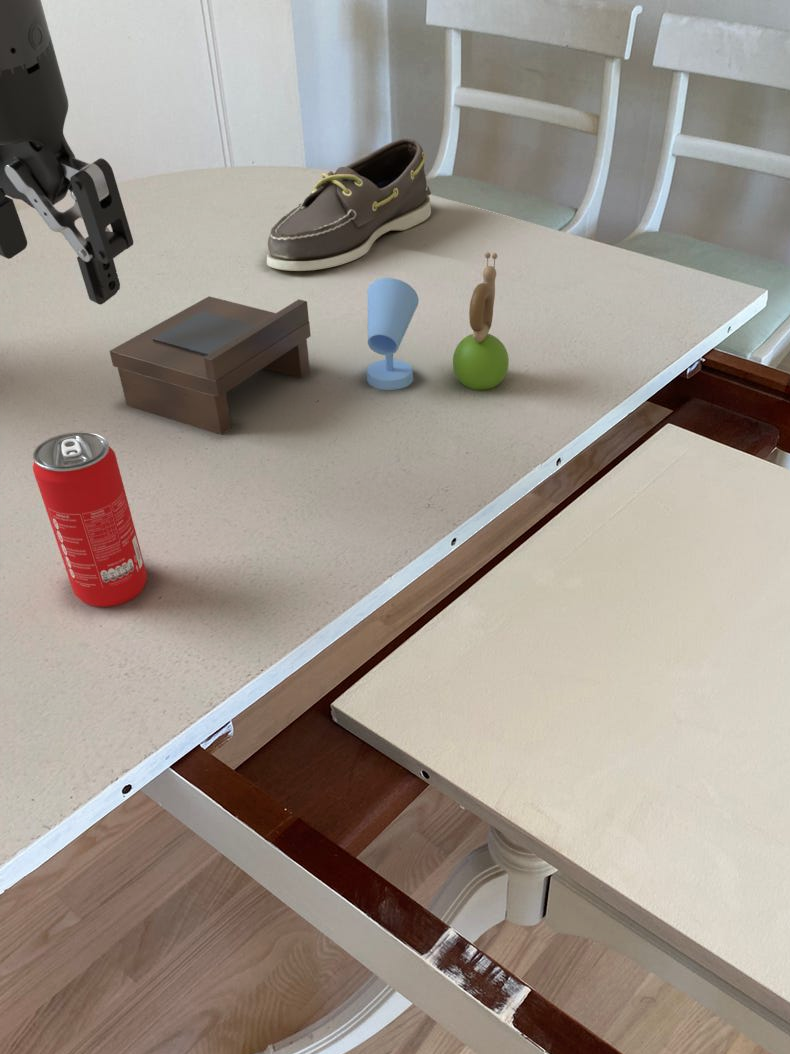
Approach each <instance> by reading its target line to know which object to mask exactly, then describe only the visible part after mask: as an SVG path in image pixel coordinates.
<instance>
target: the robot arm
mask: <svg viewBox="0 0 790 1054" xmlns="http://www.w3.org/2000/svg"><path fill="white" fill-rule="evenodd" d="M68 112H69V100H68V95H67V91H66V88H65V84H64V80H63V77H62V73H61V70H60V66H59V62H58V59H57V54H56V51H55V47H54V44H53V40H52V37H51V32H50V29H49V25H48V21H47V18H46V15H45V10H44V7H43V3H42V0H0V256H1V257H3V258H5V259H8V260H11V259H12V258H14V257H15V256H17V255H18V254H20V253H22V252H23V251H25V249H26V248H27V247H28V239H27V236H26V234H25V233H26V232H25V230H24V228H23V225H22V222H21V219H20V216H19V214H18V211H17V207H16V205H15V203H14V199H15V200H21V201H22V202H24V203H25V204H27V205H28V206H30V207H31V208H33V209H35V210H36V212H37V213H38V214H39V216H40V217H41V218H42V220H43V221H44V223H45V224H46V225H47V226H48V228H49V229H50V230H51V231H52V232H55V233H60V234H61V235H63V237H64V238H65V240H66V241H67V242H68V244H69V245H70V246H71V248H72V249H73V250H74V252H75V253H76V255H77V257H76V261H77V263H78V266H79V271H80V272H81V276H82V280H83V282H84V286H85V290H86V292H87V297H88V299H89V300H90V301H92V302H93V303H95V304H97V305H103V304H105V303H106V302H107V301H109V300H110V299H111V298H113V297H114V296H115V295H116V294H117V293H118V291H120V289H121V282H120V278H119V275H118V272H117V268H116V265H115V264H116V263H115V261H114V259H115V258H116V257H118V256H120V255H121V254H122V253H123V252H124V251H125V250H128V249H130V248H131V247H132V246H133V245H134V239H133V235H132V232H131V229H130V224H129V221H128V218H127V215H126V212H125V208H124V205H123V201H122V198H121V194H120V191H119V187H118V184H117V180H116V177H115V174H114V170H113V168H112V166H111V164H110V163H109V162H108V161H107V160H106V159H104V158H102V157H101V158H98V159H97V160H95V161H93V162H91V163H88V162H85V161H83V160H81V159H79V158H76V156H75V154H74V152H73V150H72V149H71V147H70V145H69V143H68V141H67V139H66V137H65V134H64V129H65V128H64V127H65V122H66V118H67V115H68ZM68 192H69V193H70V198H72V199H73V200H74V204H73V205H72V206H71V207H69V208H68V209H66V210H65V211H63V212H62V211H60V210H58V209H57V208H56V207H55V205H56V204H57V203H59V202H61V201H62V200H64V199H65V198H66V196H67V194H68ZM78 219H82V221H83V223H84V227H85V229H86V233H87V237H84V235H83V233H81V231H80V230H79V229H78V227H77V226H76V221H77V220H78ZM109 225H110V227H111V230H112V231H111V230H110V229H109V228H108V227H109Z"/></svg>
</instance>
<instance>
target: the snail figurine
mask: <svg viewBox="0 0 790 1054" xmlns="http://www.w3.org/2000/svg"><path fill="white" fill-rule="evenodd" d="M484 257H485V259H486V267H485V268H484V269H483V271H482V278H483V282H481V283H479V284H477V285H476V286H475V288H474V290H473V292H472V295H471V298H470V301H469V309H468V311H469V312H468V315H469V316H468V317H469V318H468V319H469V326H470V328H471V330H472V331H473V333H471V334H469V335H466V336H465V337H463V339H461V340H460V342H459V343H458V344H457V345H456V347H455V349H454V352H453V354H452V355H453V356H452V368H453V371H454V374H455V376H456V378H457V380H458V381H459V382H460V383H461V384H462V385H463V386H465V387H466V388H468V389H471V390H475V391H485V390H486V391H487V390H491V389H494V388H495V387H497V386H498V385H499V384H500V383H502V381H503V380H504V379H505V377H506V375H507V373H508V370H509V362H510V360H509V354H508V351H507V348H506V346H505V345H504V344H503V342H502V341H501V340H500V339H499V338H498V337H497V336H495V335H493V334H492V333H491V334H490V333H489V332H490V329H491V328H492V323H493V318H494V306H495V305H494V304H495V299H496V298H495V297H496V278H497V270H496V267H495V266H496V259H497V258H498V254H497V253H496V252H493V253H490V252H489V251H486V252H485V253H484ZM490 258H492V260H493V265H489V259H490Z"/></svg>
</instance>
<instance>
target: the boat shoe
mask: <svg viewBox="0 0 790 1054" xmlns="http://www.w3.org/2000/svg"><path fill="white" fill-rule="evenodd" d="M425 162H426V156H425V153H424V150H423V147H422V146H421V144H420V143H419V142H418V141H416V139H414V138H411V137H403V138H399V139H396V140H394V141H392V142H389V143H387V144H385V145H383V146H381V147H380V148H377V149H376V150H374V151H372V152H370V153H368V154H366V155H364V156H362V157H360V158H359V159H357V160H355V161H354V162H351V163H350V164H348V165H346V166H340V167H338V168H337V169H336V171H335V172H333V171H331V170H330V171H329V172H327V173H325V172H321V176H322V179H321V180H319V181H317V183H316V184H314V187H313V189H312V191H311V192H310V194H308V196H306V197H305V198H304V200H303V202H302V203H299V204H298V206H297V207H295V208H293V209H292V210H291V211H289V212H288V213H286V214H285V215H284V216H282V217H281V218H280V219H279V220H278V221H277V222H276V223H275V224H274V225H273V227H271V229H270V233H269V236H268V239H267V248H268V251H269V252H268V253H267V255H266V265H267V266H268V267H270V268H272V269H276V270H280V271H290V272H291V271H292V272H293V271H294V272H302V271H303V272H304V271H305V272H306V271H316V270H324V269H329V268H333V267H337V266H341V265H345V264H347V263H348V264H349V263H350V262H352V261H355V260H357V259H359V258H361V257H363V256H365V255H366V254H367V253H368V252H370V249H371V247H372V245H373V244H374V243H375V241H376V240H378V238H380V237H382V235H384V234H386V233H388V232H390V231H401V232H402V231H406V230H408V229H412V228H413V227H415V226H417V225H419V224H421V223H423V222H425V221H426V220H428V219H429V217H430V216H431V214H432V207H431V198H430V195H431V193H432V191H431V190H430V187H429V186H428V185H427V177H426V173H425Z"/></svg>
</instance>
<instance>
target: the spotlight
mask: <svg viewBox="0 0 790 1054" xmlns="http://www.w3.org/2000/svg"><path fill="white" fill-rule="evenodd" d="M366 292H367V295H366V296H367V297H366V298H367V299H366V300H367V345H368V347H369V349H370V350H371V351H373V353H376V354H378V355H382V356H384V359H383V360H382V359H381V360H377V361H374V362H373V363H371V364H369V365H368V367H366V380H367V383H368V384H369V385H370V386H371V387H372V388H375V389H379V390H382V391H383V390H384V391H395V390H401V389H404V388H406V387H409V386H410V385H411V384H412V383H413V382H414V376H413V375H414V371H413V366H411V365H410V364H409V363H408V362H406V361H403V360H399V359H394V354H396V353H397V352H398V350H399V348H400V346H401V344H402V341H403V340H404V337H405V335H406V333H407V330H408V328H409V325H410V323H411V321H412V319H413V317H414V314H415V312H416V310H417V308H418V306H419V296H418V293H417V291H416V290H415V289H414V288H413V286H411V285H410V284H409V283H407V282H405V281H403V280H402V279H398V278H394V277H381V278H377V279H376V280H373V281H372V282H371V283H370V284H369V285H368V288H367V291H366Z"/></svg>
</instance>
